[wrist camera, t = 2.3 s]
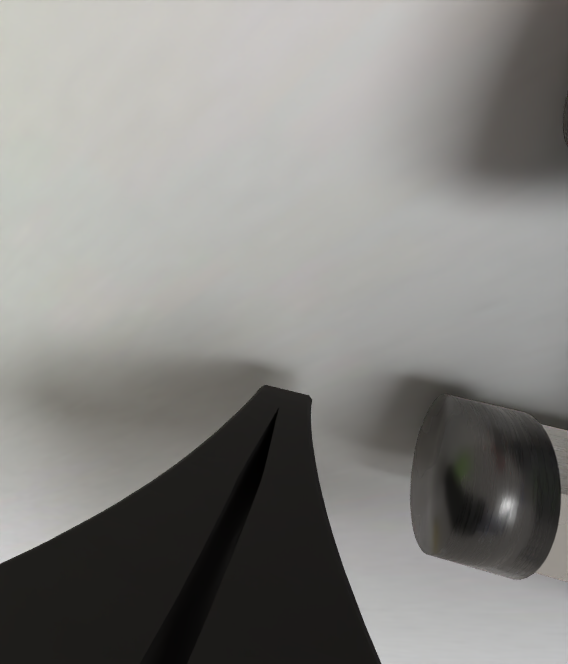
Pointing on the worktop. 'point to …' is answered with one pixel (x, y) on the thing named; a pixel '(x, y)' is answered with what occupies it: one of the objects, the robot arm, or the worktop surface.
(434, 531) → the knob plunger
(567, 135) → the knob plunger
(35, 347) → the worktop surface
